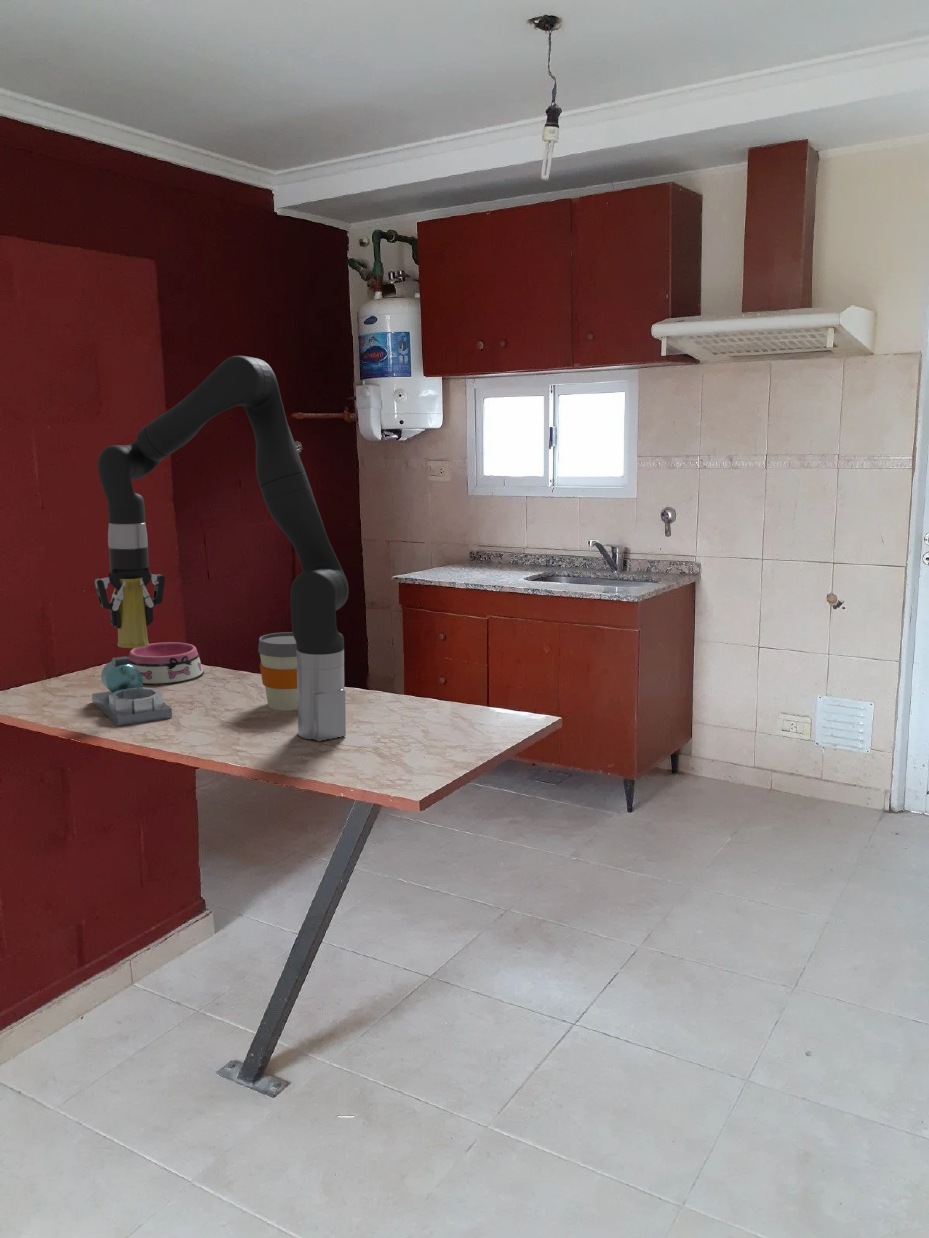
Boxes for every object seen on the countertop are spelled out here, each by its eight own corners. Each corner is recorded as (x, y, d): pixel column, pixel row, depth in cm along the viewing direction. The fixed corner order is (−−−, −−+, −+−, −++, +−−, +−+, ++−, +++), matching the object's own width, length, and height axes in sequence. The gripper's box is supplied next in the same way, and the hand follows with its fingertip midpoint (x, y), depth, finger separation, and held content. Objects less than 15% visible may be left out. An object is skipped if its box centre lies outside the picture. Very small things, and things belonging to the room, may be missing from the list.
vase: (155, 643, 200) (151, 576, 198) (133, 649, 195) (130, 580, 192) (132, 640, 203) (129, 573, 200) (111, 646, 197) (107, 577, 195)
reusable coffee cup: (323, 698, 216) (322, 632, 213) (309, 714, 204) (308, 645, 201) (269, 695, 217) (267, 630, 214) (251, 711, 205) (249, 643, 202)
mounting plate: (172, 717, 200) (169, 670, 198) (118, 726, 194) (115, 677, 192) (143, 695, 216) (140, 651, 214) (92, 702, 210) (89, 657, 208)
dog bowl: (145, 690, 221) (144, 661, 220) (111, 674, 234) (109, 647, 233) (217, 677, 233) (216, 650, 232) (181, 663, 247) (180, 637, 245)
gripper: (96, 549, 188) (101, 633, 191) (169, 545, 196) (173, 626, 199) (86, 545, 194) (91, 626, 197) (157, 541, 202) (161, 619, 205)
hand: (132, 626), depth 198 cm, fingers closed on vase, 5 cm apart
